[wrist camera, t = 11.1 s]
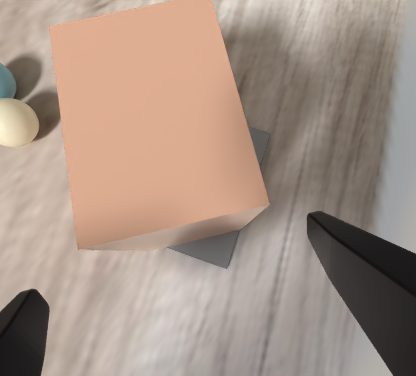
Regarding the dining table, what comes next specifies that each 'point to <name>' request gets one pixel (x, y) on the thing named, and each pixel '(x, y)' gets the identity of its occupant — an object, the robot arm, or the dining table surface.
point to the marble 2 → (17, 123)
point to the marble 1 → (7, 83)
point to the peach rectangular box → (153, 128)
